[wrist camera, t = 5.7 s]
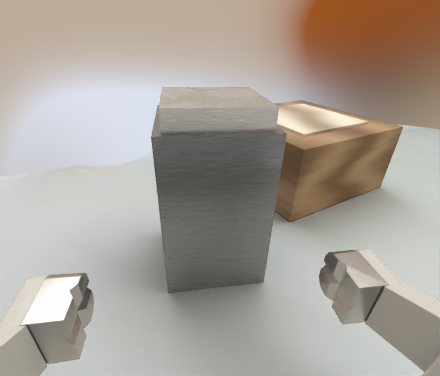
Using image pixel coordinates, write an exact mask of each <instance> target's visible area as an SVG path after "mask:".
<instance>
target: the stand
mask: <svg viewBox="0 0 440 376" xmlns="http://www.w3.org/2000/svg"><path fill="white" fill-rule="evenodd" d="M275 105H277V106H278V107H279V113H278V120H277V126H279V127H280V128H281V129H282V130H283V131H285V132H286V133H287V136H286V143H285V149H284V155H283V162H282V168H281V174H280V181H279V187H278V193H277V200H276V206H275V211H276V212H278V213H279V214H280V215H282V216H283V217H284V218H285V219H287V220H288V221H289V222H291V221H293V220H296V219H299V218H301V217H304V216H306V215H309V214H311V213H314V212H317V211H319V210H322V209H324V208H327V207H329V206H332V205H335V204H337V203H340V202H342V201H345V200H347V199H350V198H352V197H355V196H358V195H360V194H363V193H365V192H368V191H370V190H373V189H376V188H378V187H380V186H381V184H382V181H383V178H384V176H385V173H386V171H387V168H388V165H389V163H390V160H391V158H392V155H393V152H394V150H395V147H396V145H397V142H398V139H399V137H400V134H401V132H402V129H403V127H402V126H398V125H394V124H390V123H386V122H383V121H378V120H375V119H371V118H367V117H363V116H360V115H355V114H352V113H348V112H344V111H340V110H337V109H333V108H329V107H325V106H321V105H317V104H314V103H310V102H306V101H294V102H284V103H276V104H275Z"/></svg>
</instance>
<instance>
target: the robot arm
mask: <svg viewBox="0 0 440 376" xmlns="http://www.w3.org/2000/svg"><path fill="white" fill-rule="evenodd" d="M324 261H325V263H326V265H325V266H324V267H323V268H322V269H321V271H320V274H319V281H320V286H321V289H322V291H323V292H324V294H325V296H327V297H328V298H329V299H331V300H332V301H333V302H332V308H333V309H334V311H335V313H336V314H337V316H338V318H339V319H340V321H341V323H342V324H351V323H361V322H366V323H365V324H367V325H368V326H369V327H370V328H372V329H373V330H374V331H375V332H376V333H378V334H379V335H380V336H381V337H382V338H384V339H385V340H386V341H387V342H389V343H390V344H391V345H392V346H393V347H395V348H396V349H397V350H398V351H400V352H401V353H402V354H403V355H404V356H406V357H407V358H408V359H409V360H411V361H412V362H413V363H414V364H415V365H417V366H418V367H419V368H420V369H422V370H423V371H424V374H423V375H422V376H440V301H438V300H437V299H435V298H433V297H431V296H429V295H427V294H425V293H423V292H421V291H420V290H418V289H416V288H414V287H412V286H410V285H408V284H402V283H401V281H400V280H399V279H398V278H397V277H396V276H395V275H394V274H393V273H392V272H391V271H390V270H389V269H388V268H387V267H386V266H385V264H384V263H383V262H382V261H381V260H380V259H379V258H378V257H377V256H376V255H375V254H374V253H373V252H372V251H371V250H369V249H361V250H349V251H339V252H329V253H328V254H327V255H326V256H325V259H324ZM88 282H89V280H88V277H87V274H86V273H76V274H59V275H47V276H31V277H30V278H29V279H27V280H26V281H25V283H24V284H23V286H22V288H21V289H20V291H19V293H18V294H17V296H16V298H15V299H14V301H13V302H12V304H11V306H10V307H9V309H8V311H7V312H6V314H5V316H4V317H3V319H2V321H1V322H0V376H39V375H40V374H41V373H42V372H43V371H44V369H45V368H46V367H47V364H51V363H58V362H64V361H70V360H76V359H80V356H81V352H82V349H83V345H84V342H85V339H86V334H85V331H84V328H85V327H86V326H87V325H88V324H89V323H90V321H91V318H92V314H93V306H94V299H93V293H92V291H91V290H90V289H88V288H87V285H88Z"/></svg>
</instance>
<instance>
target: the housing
mask: <svg viewBox="0 0 440 376" xmlns="http://www.w3.org/2000/svg"><path fill="white" fill-rule="evenodd" d="M278 113H279V107H278V106H277V105H275V104H274V103H272V102H271V101H269V100H268V99H266V98H264V97H263V96H261V95H260V94H259V93H257V92H255V91H254V90H252V89H251V88H244V87H243V88H242V87H239V88H238V87H235V88H234V87H232V88H231V87H230V88H229V87H228V88H226V87H225V88H222V87H219V88H218V87H215V88H214V87H211V88H210V87H192V88H190V87H188V88H186V87H185V88H184V87H179V88H178V87H174V88H173V87H163V88H162V93H161V98H160V103H159V105H158V107H157V112H156V117H155V121H154V126H153V131H152V136H151V140H152V149H153V158H154V167H155V176H156V185H157V194H158V203H159V212H160V221H161V230H162V239H163V248H164V257H165V266H166V275H167V284H168V293H172V292H181V291H189V290H198V289H206V288H215V287H224V286H232V285H241V284H250V283H258V282H264V275H265V269H266V263H267V256H268V250H269V244H270V238H271V231H272V225H273V219H274V212H275V206H276V200H277V193H278V187H279V181H280V174H281V168H282V162H283V155H284V149H285V143H286V136H287V133H286V132H285V131H283V130H282V129H281V128H280V127H279V126H277V120H278Z"/></svg>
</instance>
